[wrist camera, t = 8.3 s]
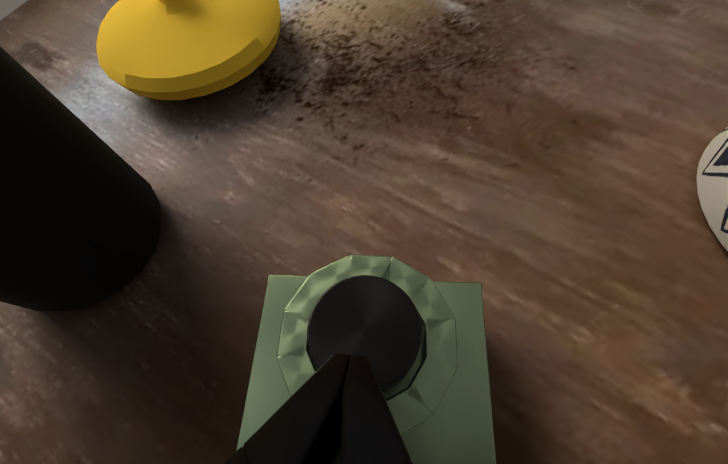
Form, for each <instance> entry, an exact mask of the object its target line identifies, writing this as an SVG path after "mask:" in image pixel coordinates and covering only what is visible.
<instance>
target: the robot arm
mask: <svg viewBox="0 0 728 464" xmlns="http://www.w3.org/2000/svg"><path fill="white" fill-rule="evenodd" d="M224 464H413V463H412V461H410V456H409V454H408V451H407V449H406V447H405V444H404V442H403V440H402V437H401V435H400V432H399V430H398V428H397V425H396V423H395V421H394V418H393V416H392V413H391V411H390V409H389V406H388V404H387V401H386V399H385V397H384V394H383V392H382V390H381V387H380V385H379V382H378V380H377V378H376V375H375V373H374V371H373V368H372V366H371V363H370V361H369V359H368V357H367V356H366V355H358V354H353V355H351V356H350V355H349V354H340V353H335V354H333V355H332V356H331V357H330V358H329V359H328V360H327V361H326V362H325V363H324V364H323V365H322V366H321V367H320V368H319V369H318V370H317V371H316V372H315V373H314V374H313V375H312V376H311V377H310V378H309V379H308V380H307V381H306V382H305V383H304V384H303V385H302V386H301V387H300V388H299V389H298V390H297V391H296V392H295V393H294V394H293V395H292V396H291V397H290V398H289V399H288V400H287V401H286V402H285V403H284V404H283V405H282V406H281V407H280V408H279V409H278V410H277V411H276V412H275V413H274V414H273V415H272V416H271V417H270V418H269V419H268V420H267V421H266V422H265V423H264V424H263V425H262V426H261V427H260V428H259V429H258V430H257V431H256V432H255V433H254V434H253V435H252V436H251V437H250V438H249V439H248V440H247V441H246V442H245V443H244V445H243V447H240V448H239V449H238V450H237V451H236V452H235V453H234V454H233V455H232V456H231V457H230V458H229V459H228V460H227V461H226V462H225V463H224Z"/></svg>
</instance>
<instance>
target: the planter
mask: <svg viewBox="0 0 728 464" xmlns="http://www.w3.org/2000/svg"><path fill="white" fill-rule="evenodd" d="M697 193H698V197H699V201H700V204H701V208H702V211H703V213H704V215H705V217H706V220H707V222H708V224H709V226H710V228H711V229H712V231H713V232H714V234H715V235H716V237H717V239H718V240H719V242H720V243H721V245H722V246H723V247H724V248H725V249H726V251H727V252H728V127H727V128H726V129H725V130H723V131H722V132H721V133H720V134H719V135H717V136H716V137H715V138H714V139H713V140H712V141H711V142H710V144H709V145H708V146H707V148H706V149H705V150H704V152H703V155H702V157H701V159H700V162H699V165H698V171H697Z"/></svg>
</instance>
